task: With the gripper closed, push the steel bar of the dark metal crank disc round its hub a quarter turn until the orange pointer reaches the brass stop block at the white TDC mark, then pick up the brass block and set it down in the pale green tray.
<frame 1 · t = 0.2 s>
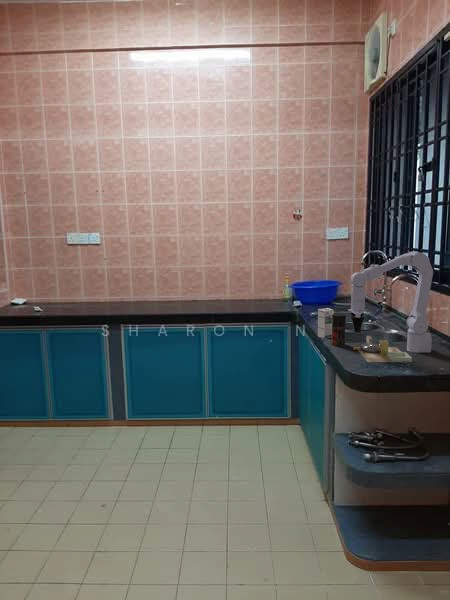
hand: (357, 330, 194), 10 cm above the worktop, tool pointing down, fingers open, 7 cm apart
crank: (367, 343, 195), point 3 cm above the worktop, hinge at 0.0°
stop block: (383, 354, 187), point 1 cm above the worktop, touching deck
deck: (382, 355, 188), on the worktop
tray: (398, 359, 181), resting on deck
syrup box: (325, 337, 221), on the worktop
deodorant: (338, 346, 204), on the worktop
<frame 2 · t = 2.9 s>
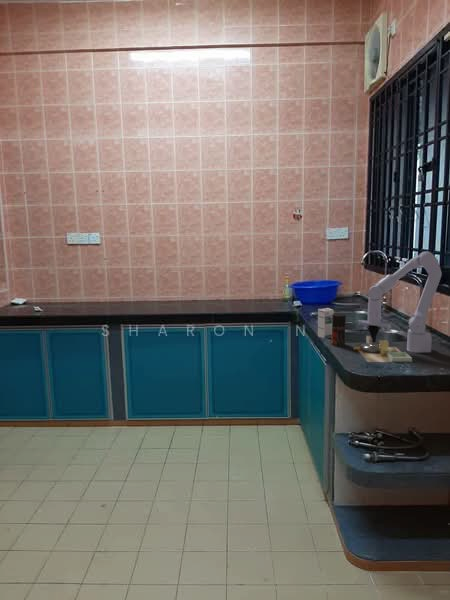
hand: (373, 342, 199), 3 cm above the worktop, tool pointing down, fingers closed, pressing on crank
crank: (367, 344, 195), point 3 cm above the worktop, hinge at 0.6°, touching gripper
everything else where it was.
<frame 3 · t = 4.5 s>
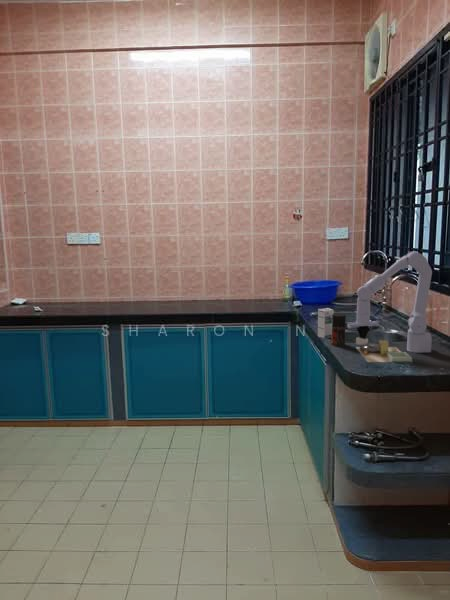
hand: (362, 342, 199), 3 cm above the worktop, tool pointing down, fingers closed, pressing on crank
crank: (368, 345, 193), point 3 cm above the worktop, hinge at 56.5°, touching gripper
everything else where it was.
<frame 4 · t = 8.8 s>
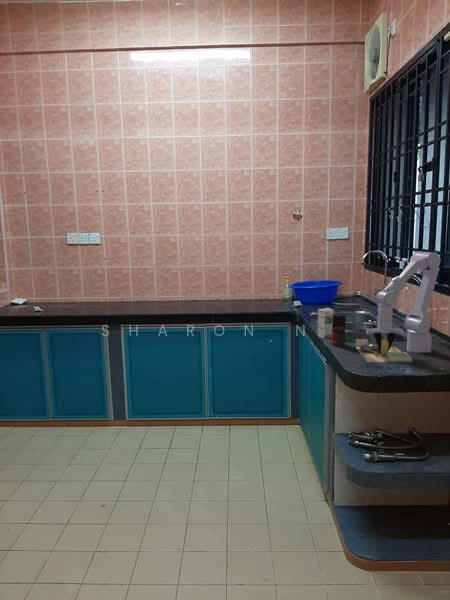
hand: (383, 350, 187), 3 cm above the worktop, tool pointing down, fingers closed on stop block, 3 cm apart
crank: (370, 345, 193), point 3 cm above the worktop, hinge at 87.6°
stop block: (383, 354, 187), point 1 cm above the worktop, touching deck, gripper
everything else where it was.
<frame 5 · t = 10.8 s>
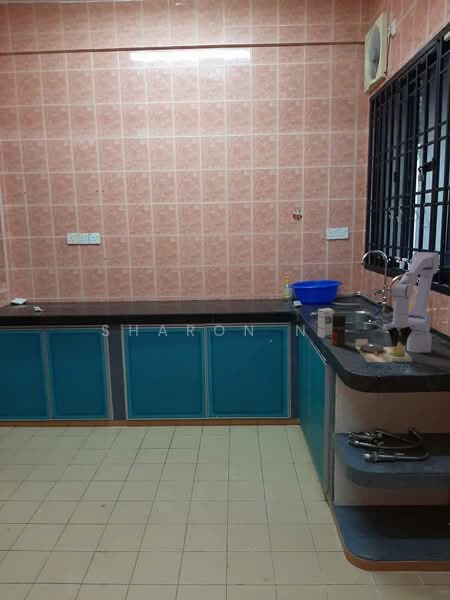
hand: (398, 345, 180), 7 cm above the worktop, tool pointing down, fingers closed on stop block, 3 cm apart
stop block: (399, 357, 182), point 1 cm above the worktop, touching gripper, tray
everything else where it was.
when the fingers open (4 cm above the worktop, at t = 11.5 s): stop block stays where it is, resting on tray.
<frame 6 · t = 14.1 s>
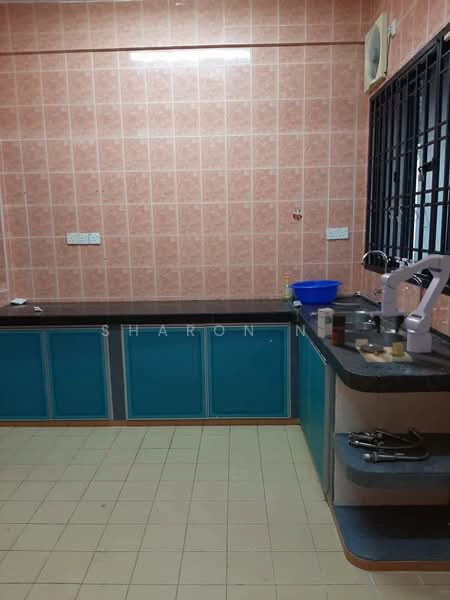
hand: (387, 332, 188), 10 cm above the worktop, tool pointing down, fingers open, 7 cm apart
stop block: (397, 357, 182), point 1 cm above the worktop, touching tray
everything else where it was.
at the end: crank at +88° (first picture: +0°); stop block inside the target area on the tray (0.6 cm from its centre), point 0.4 cm above the tray's base; the gripper is holding nothing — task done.
